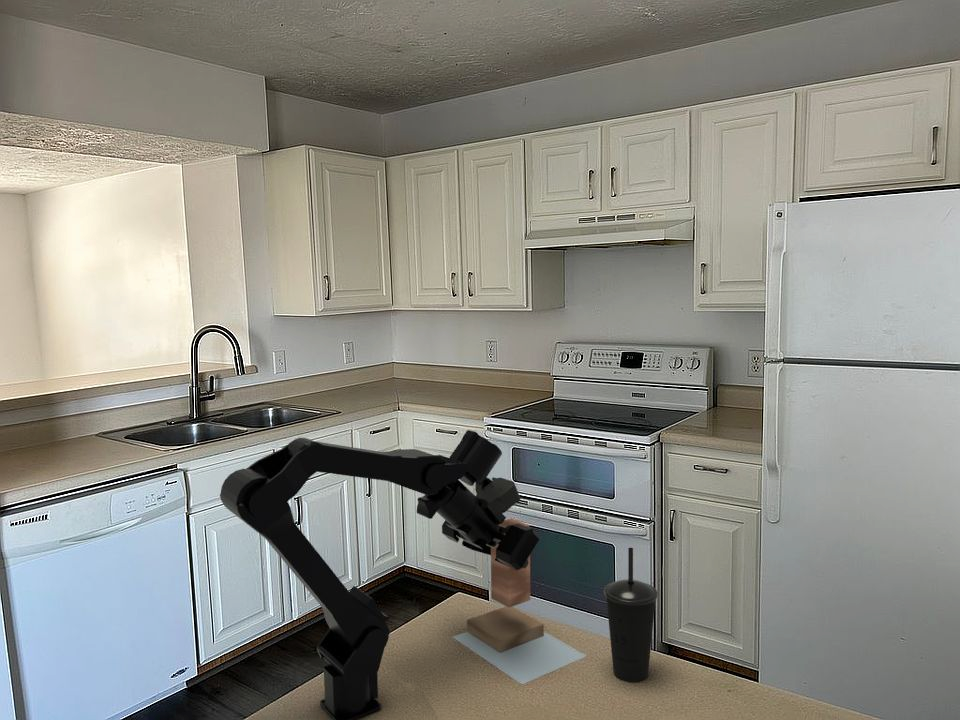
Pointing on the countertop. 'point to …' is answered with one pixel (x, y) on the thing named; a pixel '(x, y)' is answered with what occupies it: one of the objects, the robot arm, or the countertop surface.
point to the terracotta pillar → (509, 578)
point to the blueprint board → (525, 656)
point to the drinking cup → (630, 625)
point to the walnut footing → (505, 628)
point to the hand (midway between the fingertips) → (516, 561)
